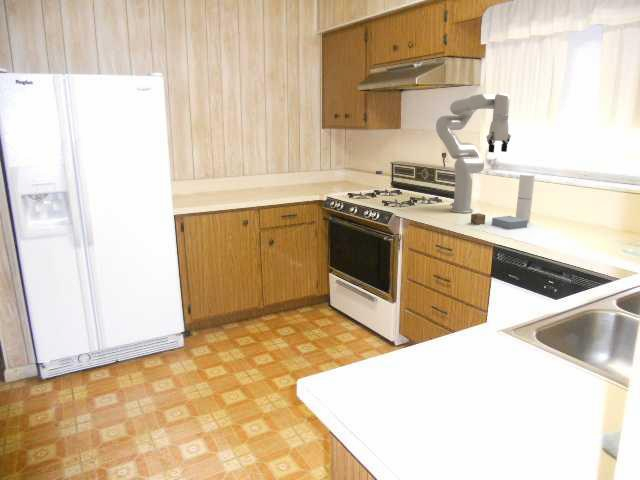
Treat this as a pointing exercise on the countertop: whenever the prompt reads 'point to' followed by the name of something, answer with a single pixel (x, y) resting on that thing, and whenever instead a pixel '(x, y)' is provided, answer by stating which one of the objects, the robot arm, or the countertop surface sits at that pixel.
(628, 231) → the countertop surface
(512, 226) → the grey base block
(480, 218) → the walnut cube
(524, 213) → the cylindrical container
